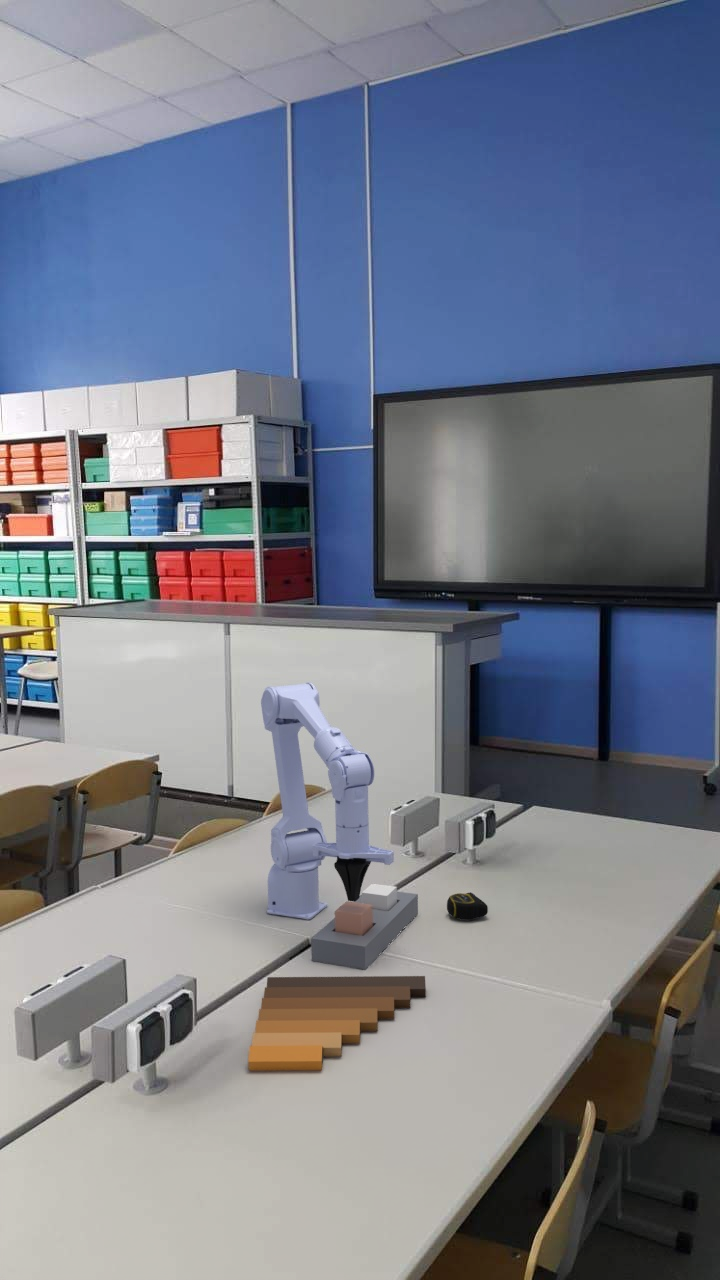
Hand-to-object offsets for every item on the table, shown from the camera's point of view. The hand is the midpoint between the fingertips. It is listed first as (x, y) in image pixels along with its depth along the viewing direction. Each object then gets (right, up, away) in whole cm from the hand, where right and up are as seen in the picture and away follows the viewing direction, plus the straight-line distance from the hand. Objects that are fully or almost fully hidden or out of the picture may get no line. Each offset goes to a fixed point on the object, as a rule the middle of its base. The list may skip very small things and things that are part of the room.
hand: (353, 899), depth 176 cm
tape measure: (+22, -7, +16) cm, 28 cm away
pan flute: (-1, -13, -27) cm, 29 cm away
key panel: (+2, -8, +6) cm, 11 cm away
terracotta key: (0, -6, +1) cm, 6 cm away
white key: (+5, -6, +12) cm, 14 cm away
